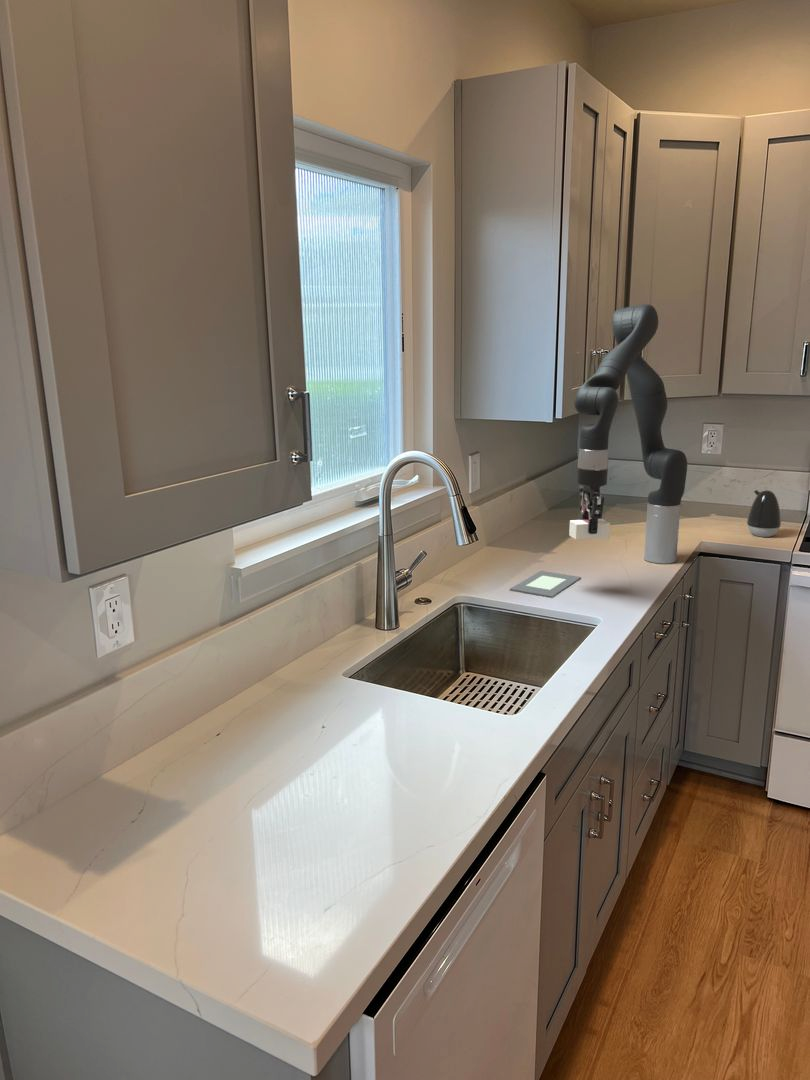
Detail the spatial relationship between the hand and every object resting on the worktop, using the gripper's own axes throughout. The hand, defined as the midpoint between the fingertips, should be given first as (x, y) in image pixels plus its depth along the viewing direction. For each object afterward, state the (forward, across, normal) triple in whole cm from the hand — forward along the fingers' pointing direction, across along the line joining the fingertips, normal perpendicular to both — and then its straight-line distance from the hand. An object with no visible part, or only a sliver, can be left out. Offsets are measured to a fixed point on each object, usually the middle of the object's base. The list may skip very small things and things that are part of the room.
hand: (589, 530), depth 207 cm
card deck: (+2, 0, 0) cm, 2 cm away
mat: (+16, -5, -10) cm, 19 cm away
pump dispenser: (+15, -51, +75) cm, 92 cm away
